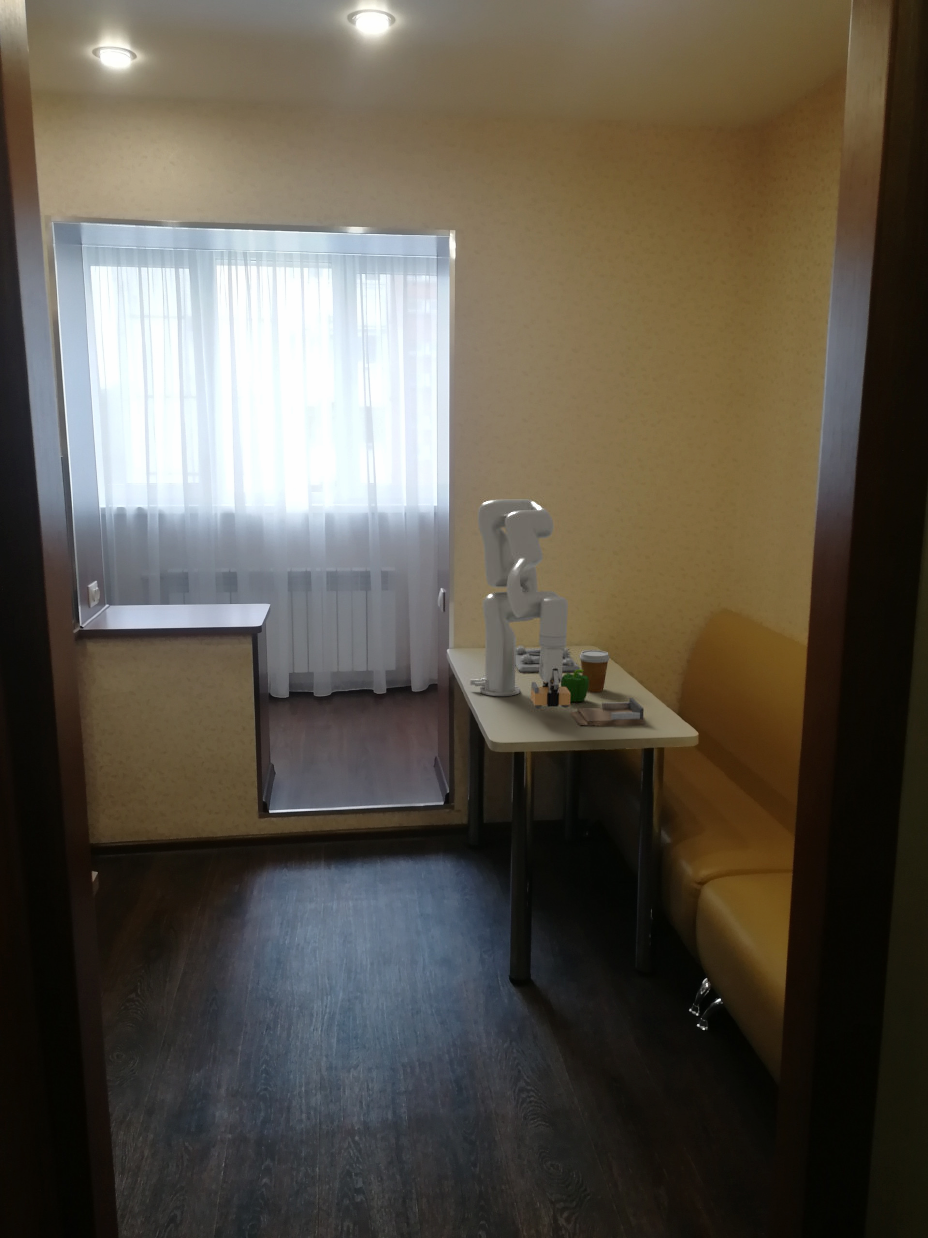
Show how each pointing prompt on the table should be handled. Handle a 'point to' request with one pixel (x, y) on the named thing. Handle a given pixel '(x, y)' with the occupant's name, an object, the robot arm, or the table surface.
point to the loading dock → (611, 714)
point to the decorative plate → (531, 660)
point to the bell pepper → (576, 685)
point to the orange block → (541, 696)
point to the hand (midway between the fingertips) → (550, 702)
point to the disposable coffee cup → (594, 668)
